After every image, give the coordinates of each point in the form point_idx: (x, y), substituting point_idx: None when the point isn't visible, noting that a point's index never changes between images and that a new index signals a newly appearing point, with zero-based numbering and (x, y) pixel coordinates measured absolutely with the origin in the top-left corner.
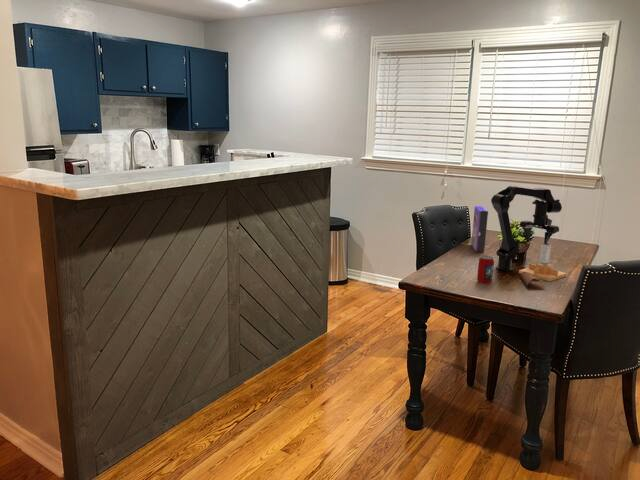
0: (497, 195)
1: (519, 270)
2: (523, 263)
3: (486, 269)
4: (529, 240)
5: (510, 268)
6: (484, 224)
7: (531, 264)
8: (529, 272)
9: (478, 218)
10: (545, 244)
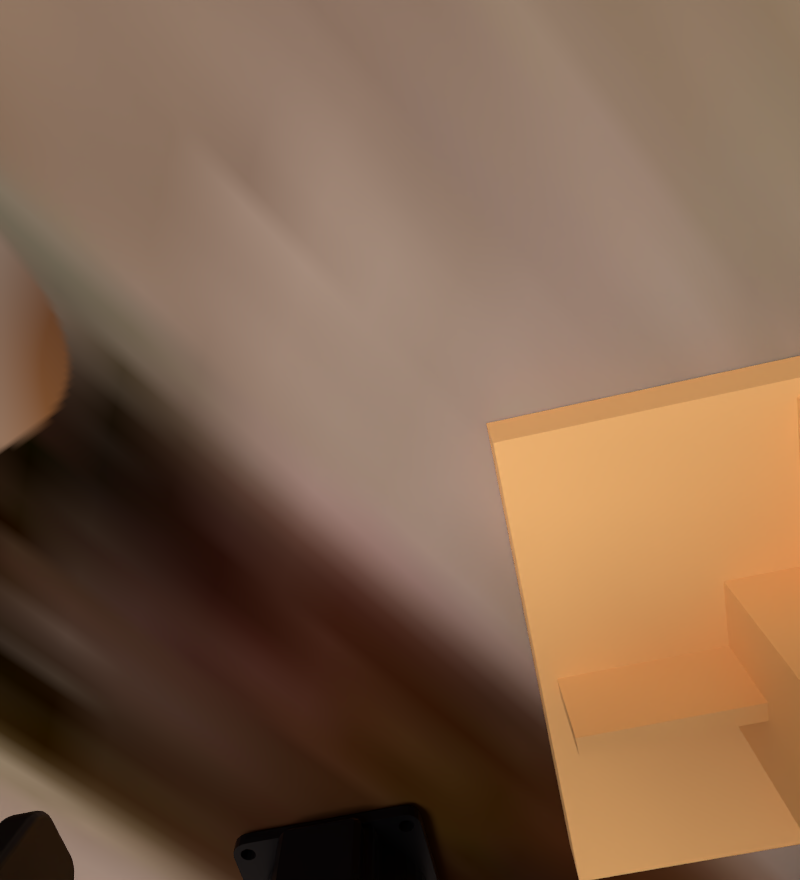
0: None
1: (586, 877)
2: (123, 385)
3: None
4: (37, 844)
5: (415, 872)
6: None
7: (626, 742)
8: (734, 834)
9: None
10: None
